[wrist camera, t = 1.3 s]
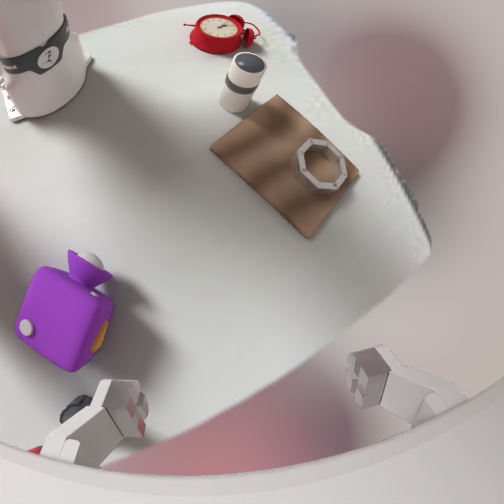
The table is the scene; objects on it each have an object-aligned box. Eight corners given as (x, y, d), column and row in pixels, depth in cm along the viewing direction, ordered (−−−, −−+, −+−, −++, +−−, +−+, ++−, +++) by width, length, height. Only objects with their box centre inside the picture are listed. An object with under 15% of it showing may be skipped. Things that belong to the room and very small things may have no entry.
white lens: (212, 100, 43) (225, 59, 33) (232, 86, 45) (248, 47, 35) (234, 118, 44) (252, 79, 34) (254, 103, 45) (273, 66, 36)
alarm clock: (179, 18, 40) (248, 0, 42) (182, 38, 47) (246, 19, 48) (198, 47, 40) (272, 26, 42) (200, 67, 46) (268, 46, 48)
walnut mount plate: (209, 149, 41) (210, 146, 41) (275, 97, 47) (277, 94, 46) (306, 238, 44) (309, 237, 43) (356, 172, 49) (359, 170, 48)
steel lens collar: (281, 166, 43) (287, 159, 41) (310, 137, 46) (317, 130, 43) (321, 204, 44) (329, 199, 42) (346, 172, 47) (354, 167, 44)
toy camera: (129, 268, 36) (116, 258, 26) (106, 364, 33) (87, 385, 23) (61, 244, 33) (32, 228, 24) (39, 338, 30) (5, 348, 21)
